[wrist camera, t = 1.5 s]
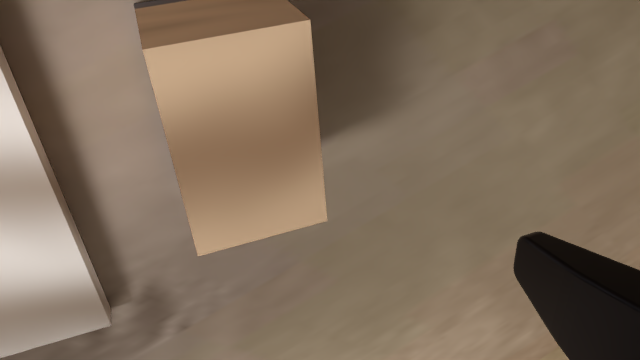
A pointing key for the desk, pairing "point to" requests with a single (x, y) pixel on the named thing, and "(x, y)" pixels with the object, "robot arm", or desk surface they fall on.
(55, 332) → the board
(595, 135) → the desk surface
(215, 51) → the block
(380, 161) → the desk surface
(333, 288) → the desk surface
